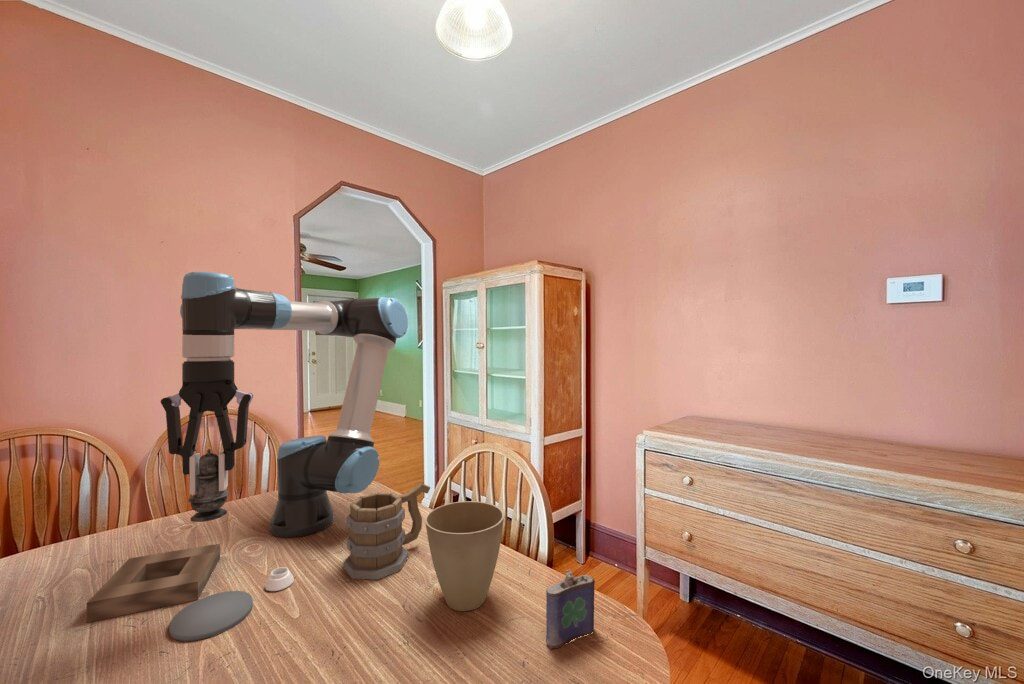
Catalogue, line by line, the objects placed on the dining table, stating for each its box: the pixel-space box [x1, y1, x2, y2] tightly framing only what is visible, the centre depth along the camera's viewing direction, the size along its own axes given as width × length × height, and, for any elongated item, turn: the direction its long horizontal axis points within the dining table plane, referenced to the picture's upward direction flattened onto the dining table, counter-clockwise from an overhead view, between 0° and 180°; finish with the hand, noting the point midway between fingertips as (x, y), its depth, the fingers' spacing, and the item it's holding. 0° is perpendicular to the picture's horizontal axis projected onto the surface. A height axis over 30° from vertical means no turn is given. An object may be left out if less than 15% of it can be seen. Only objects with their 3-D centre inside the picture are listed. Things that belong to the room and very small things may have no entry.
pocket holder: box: [86, 543, 221, 623], centre depth 83 cm, size 16×16×4 cm
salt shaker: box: [187, 448, 230, 523], centre depth 74 cm, size 6×6×12 cm
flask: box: [545, 569, 596, 650], centre depth 68 cm, size 9×3×11 cm, turn 117°
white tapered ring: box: [264, 566, 295, 592], centre depth 83 cm, size 5×3×5 cm
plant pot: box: [424, 500, 505, 612], centre depth 78 cm, size 15×15×16 cm
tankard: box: [342, 482, 431, 581], centre depth 93 cm, size 20×13×15 cm, turn 131°
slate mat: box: [168, 590, 254, 642], centre depth 73 cm, size 12×12×1 cm
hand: (209, 489), depth 74 cm, fingers closed on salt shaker, 3 cm apart
